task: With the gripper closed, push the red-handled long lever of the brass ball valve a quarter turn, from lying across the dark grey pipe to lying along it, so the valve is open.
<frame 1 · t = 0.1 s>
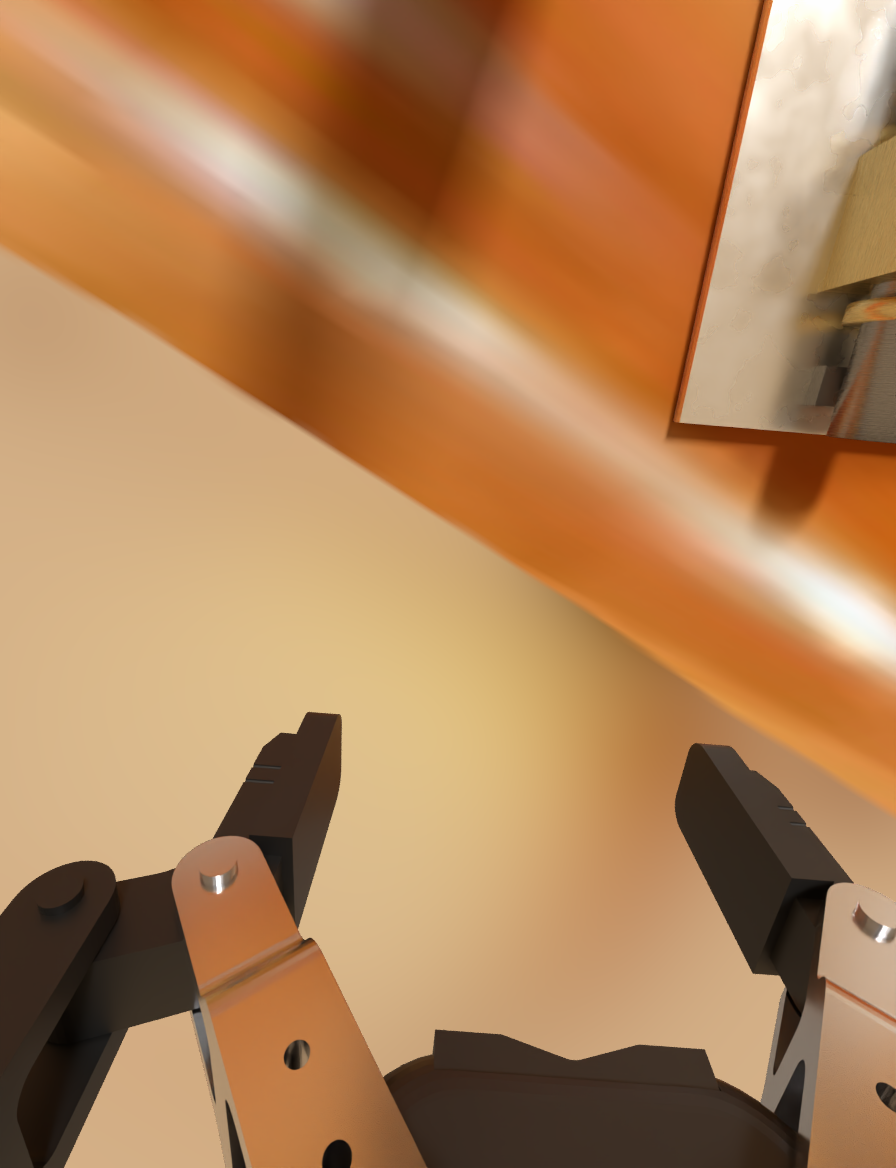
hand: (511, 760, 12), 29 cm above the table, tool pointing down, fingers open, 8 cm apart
valve: (881, 236, 33), on the table
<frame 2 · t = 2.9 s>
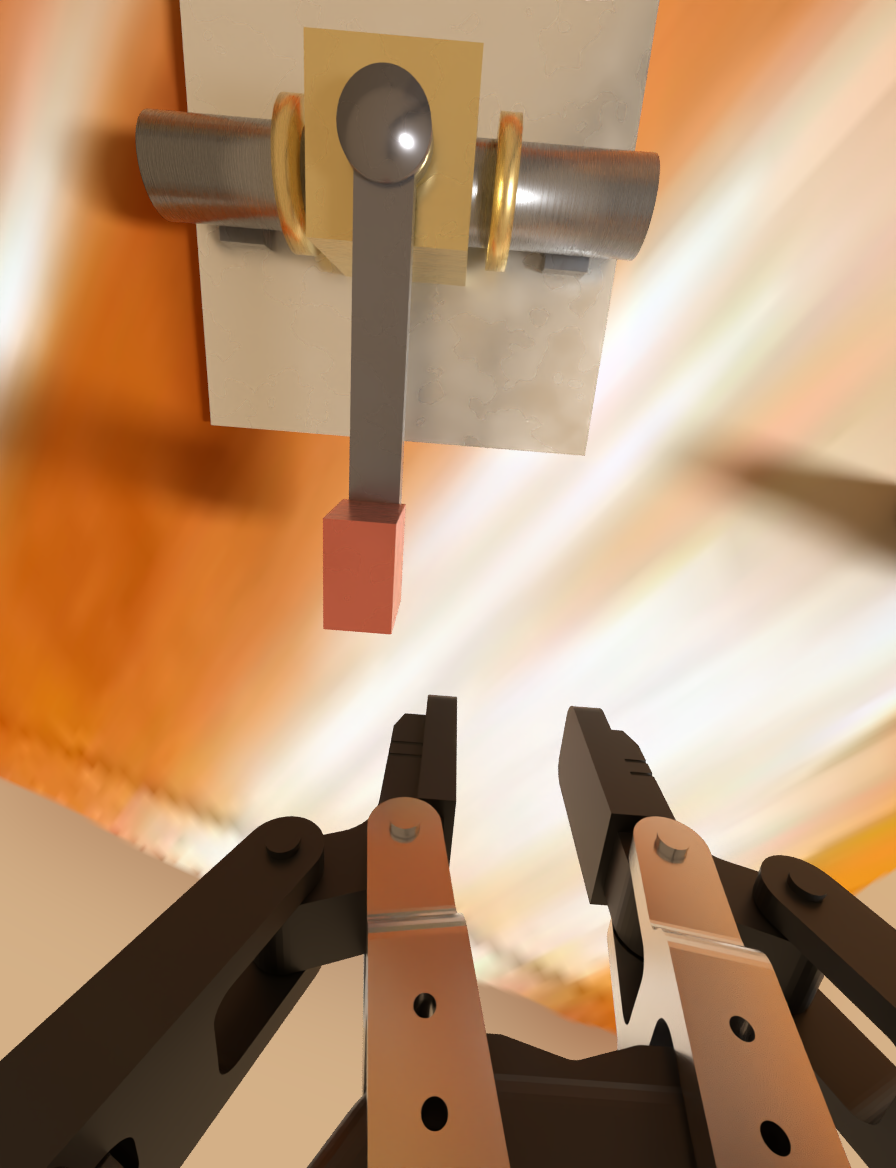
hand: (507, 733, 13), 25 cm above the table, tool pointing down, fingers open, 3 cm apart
lever: (373, 374, 22), point 12 cm above the table, hinge at 90.0°
valve: (410, 216, 31), on the table
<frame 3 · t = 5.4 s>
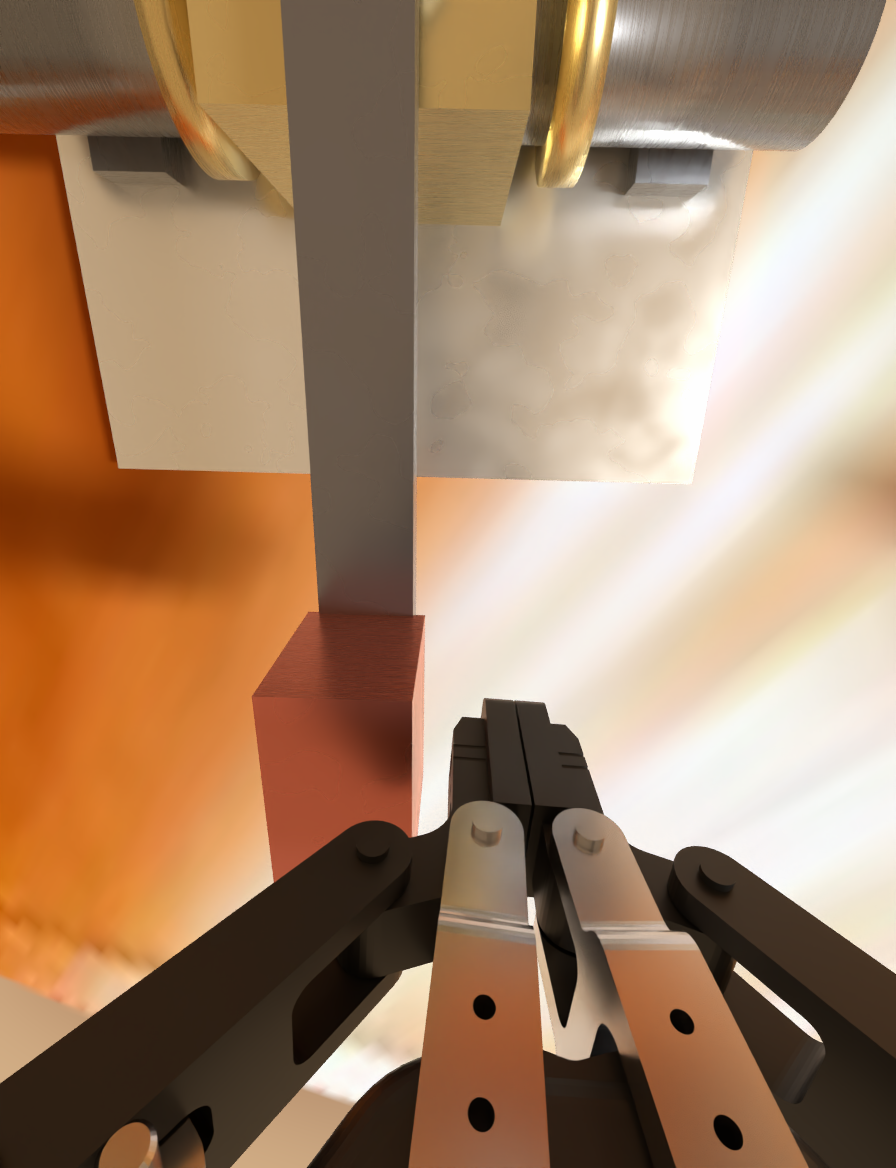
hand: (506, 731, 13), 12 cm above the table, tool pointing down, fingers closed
lever: (346, 377, 10), point 12 cm above the table, hinge at 89.9°, touching gripper
valve: (405, 118, 19), on the table
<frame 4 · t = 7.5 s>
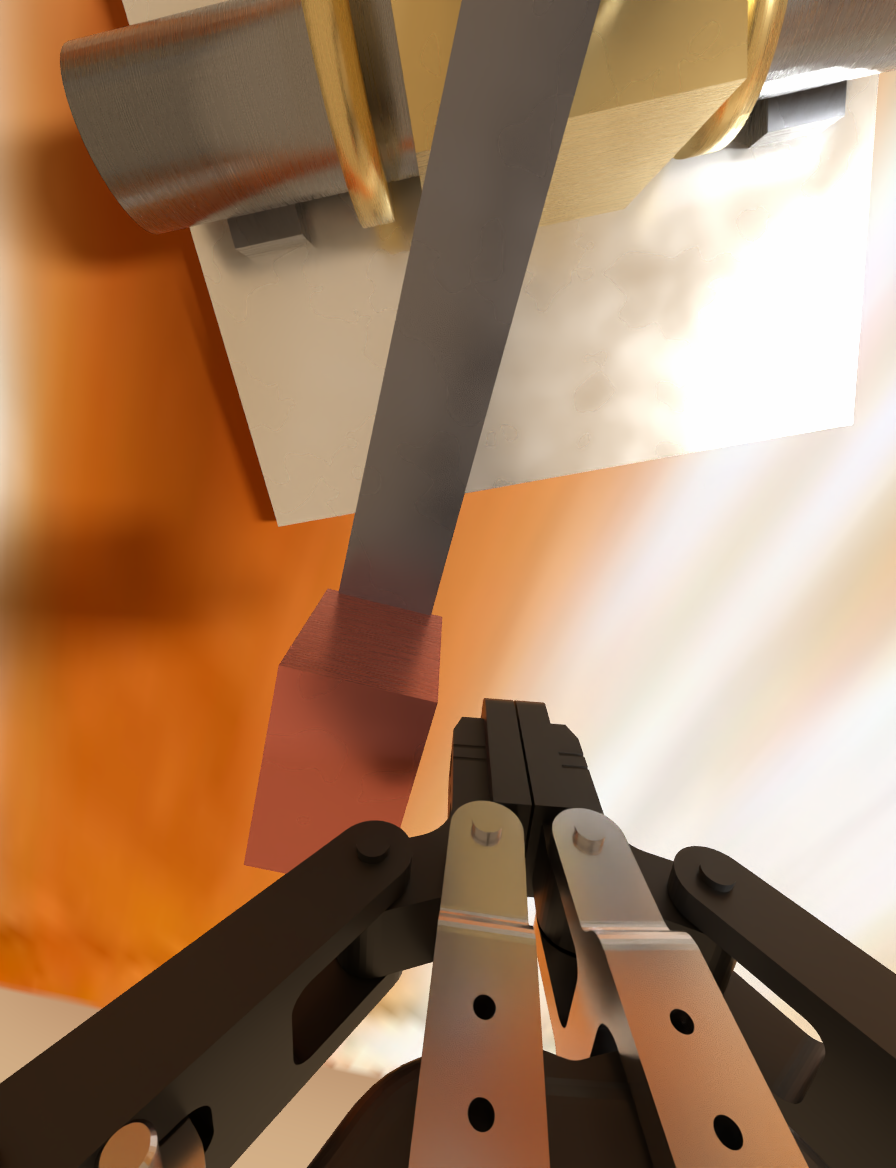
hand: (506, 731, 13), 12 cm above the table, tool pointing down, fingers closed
lever: (439, 371, 10), point 12 cm above the table, hinge at 64.9°, touching gripper
valve: (509, 127, 19), on the table
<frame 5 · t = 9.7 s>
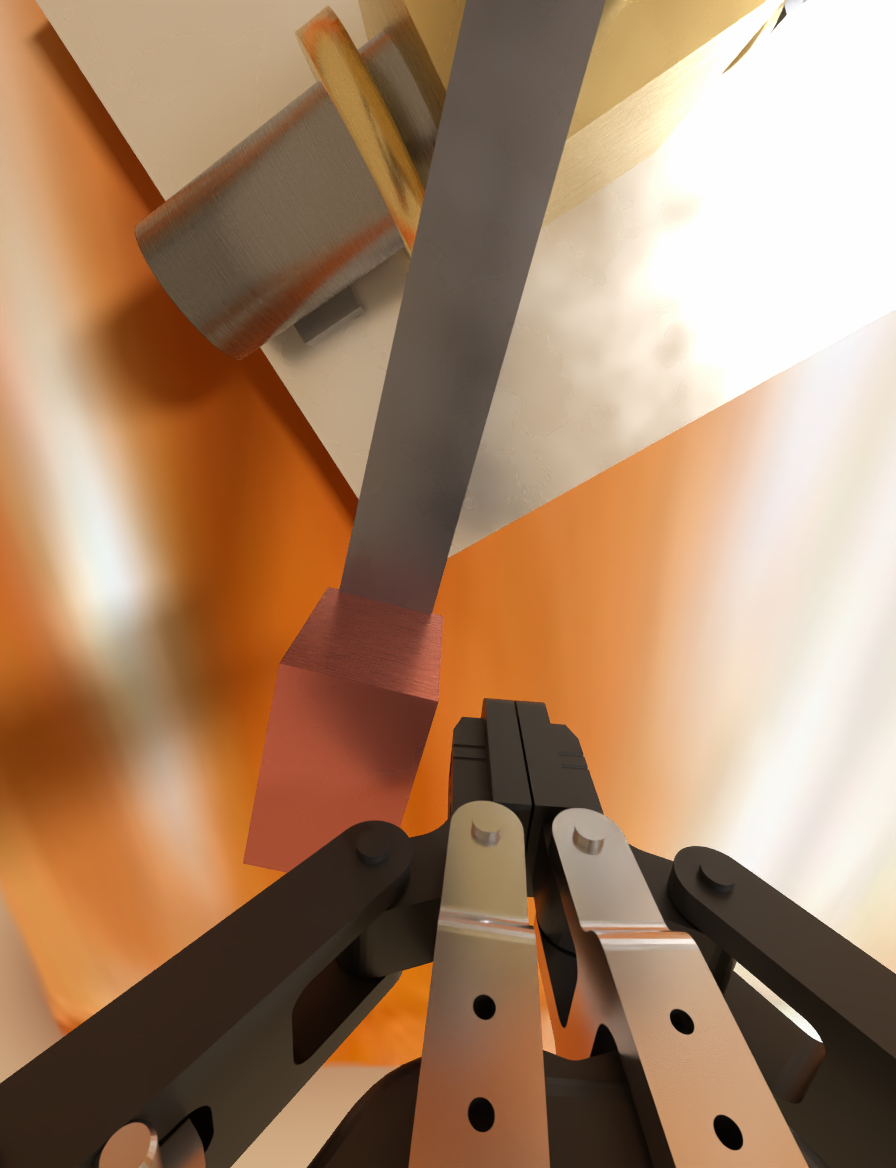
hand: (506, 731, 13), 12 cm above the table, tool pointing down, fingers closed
lever: (441, 369, 10), point 12 cm above the table, hinge at 44.4°, touching gripper
valve: (512, 126, 19), on the table
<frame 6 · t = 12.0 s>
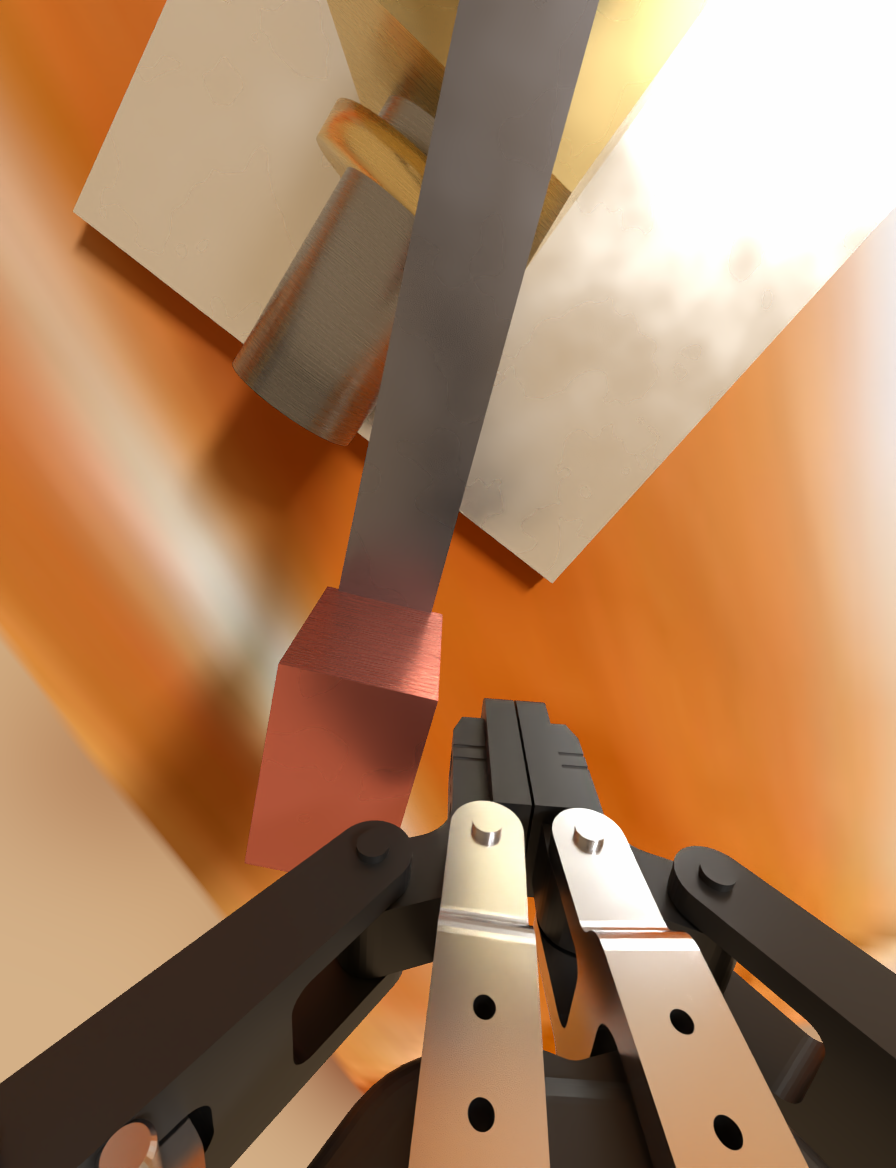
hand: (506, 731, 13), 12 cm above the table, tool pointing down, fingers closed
lever: (439, 367, 10), point 12 cm above the table, hinge at 23.2°, touching gripper
valve: (509, 121, 19), on the table
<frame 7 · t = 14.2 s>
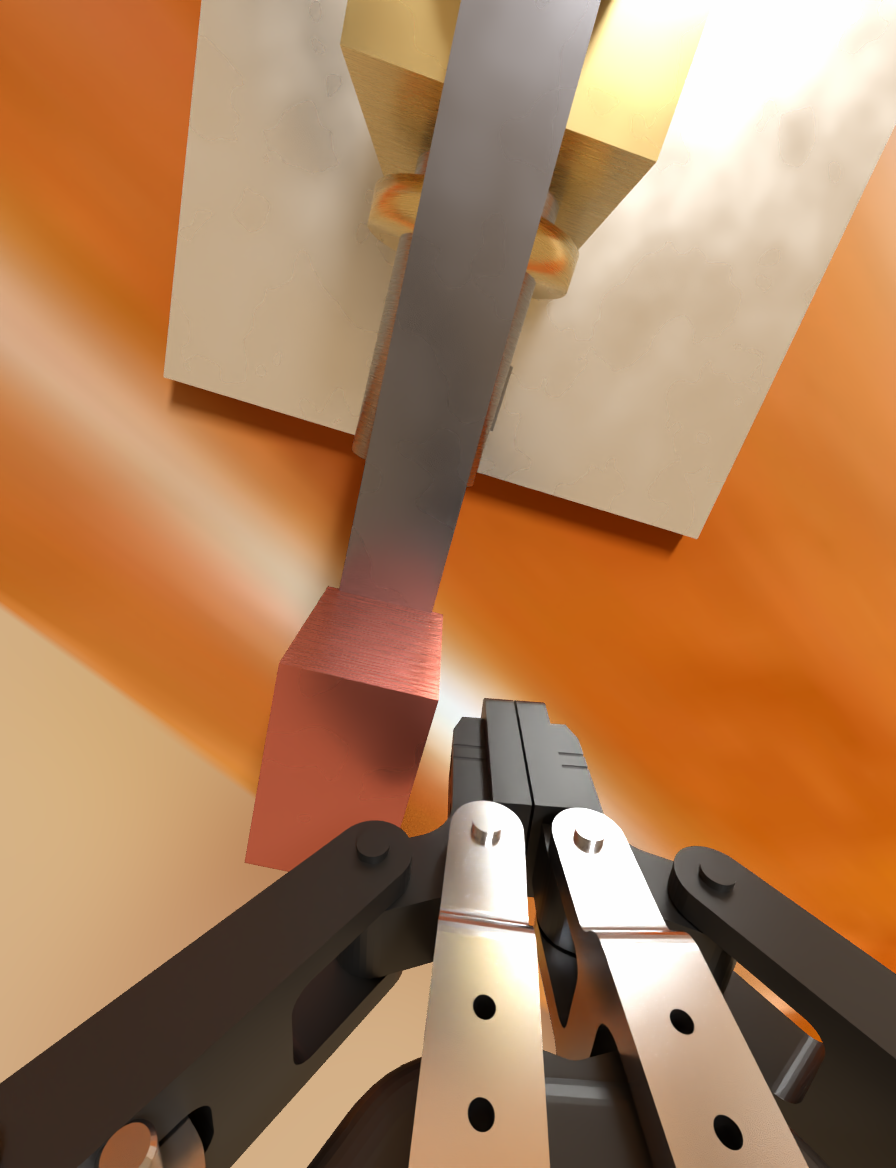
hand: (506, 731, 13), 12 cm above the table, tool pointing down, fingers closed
lever: (440, 367, 10), point 12 cm above the table, hinge at 1.7°, touching gripper
valve: (511, 122, 19), on the table
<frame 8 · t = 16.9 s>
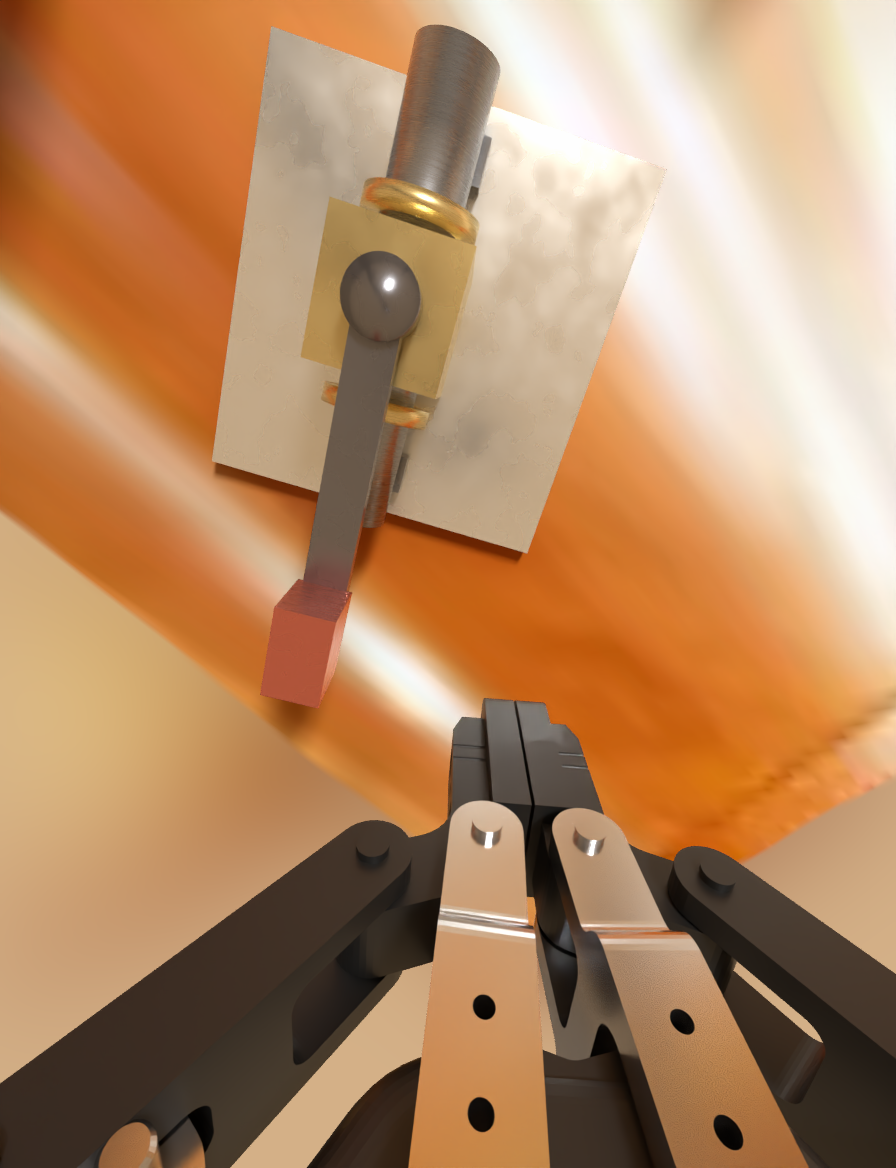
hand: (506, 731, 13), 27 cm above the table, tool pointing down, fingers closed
lever: (338, 491, 26), point 12 cm above the table, hinge at 1.7°
valve: (404, 326, 34), on the table
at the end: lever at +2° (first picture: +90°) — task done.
